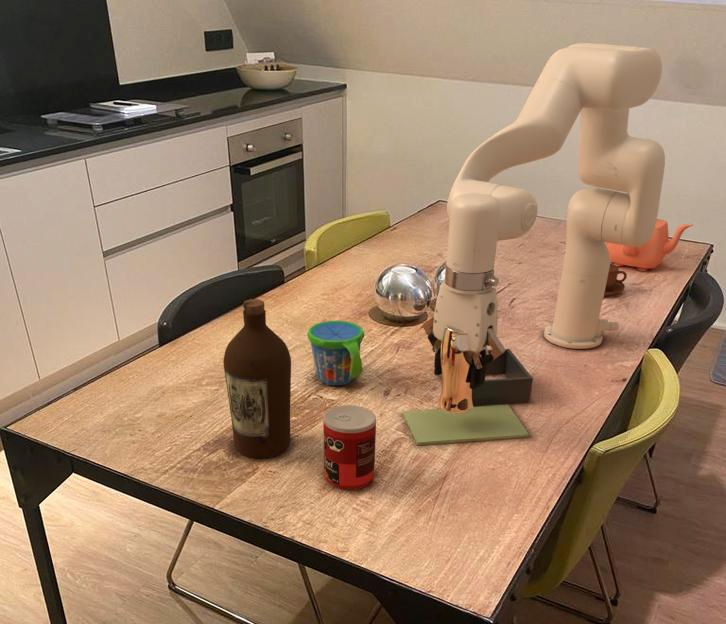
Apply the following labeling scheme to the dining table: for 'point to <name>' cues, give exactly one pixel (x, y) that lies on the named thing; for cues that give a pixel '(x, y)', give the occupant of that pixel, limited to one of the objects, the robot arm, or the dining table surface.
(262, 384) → the olive oil
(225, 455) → the dining table surface
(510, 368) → the basin
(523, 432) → the drying mat
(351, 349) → the snack cup
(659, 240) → the teapot
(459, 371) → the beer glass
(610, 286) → the cup and saucer
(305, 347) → the dining table surface
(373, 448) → the canned food
